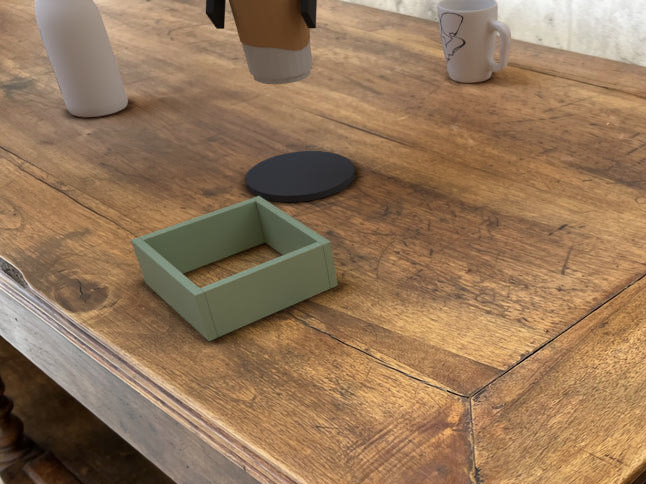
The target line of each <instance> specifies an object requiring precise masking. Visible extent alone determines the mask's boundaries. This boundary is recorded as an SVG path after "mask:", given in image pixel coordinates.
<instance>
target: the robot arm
mask: <svg viewBox="0 0 646 484" xmlns="http://www.w3.org/2000/svg"><path fill="white" fill-rule="evenodd" d="M226 1H227V0H205V15H206V16H207V18H208V19H209V20H210V23H212V25H213V26H214V28H215V29H216V30H224V29H225V23H226V21H225V20H226ZM317 5H318V0H301V6H300V13H301V15H302V17H303V19H304V21H305V23H306V25H307V27H308V28H310V29H317V9H318V8H317V7H318V6H317Z"/></svg>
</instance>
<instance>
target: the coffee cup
mask: <svg viewBox="0 0 646 484" xmlns="http://www.w3.org/2000/svg"><path fill="white" fill-rule="evenodd" d="M228 3H229V7H230V10H231V14H232V18H233V20H234V24H235V27H236V28H235V29H236V32H237V35H238V39H239V41H240V43H241V46H242V50H243V53H244V56H245V60H246V64H247V67H248V71H249V74H250V75H252V76H253V78H254V80H255V81H256V82H257V83H260V84H265V85H287V84H292V83H296V82H300V81H303V80H305V79H307V78H309V77H310V76H311V73H312V72H311V71H312V69H313V65H314V64H313V56H312V46H311V32H310V31H311V28H308V27H307V25H306V23H305V21H304V19H303V17H302V15H301V13H300V6H301V0H228Z"/></svg>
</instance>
